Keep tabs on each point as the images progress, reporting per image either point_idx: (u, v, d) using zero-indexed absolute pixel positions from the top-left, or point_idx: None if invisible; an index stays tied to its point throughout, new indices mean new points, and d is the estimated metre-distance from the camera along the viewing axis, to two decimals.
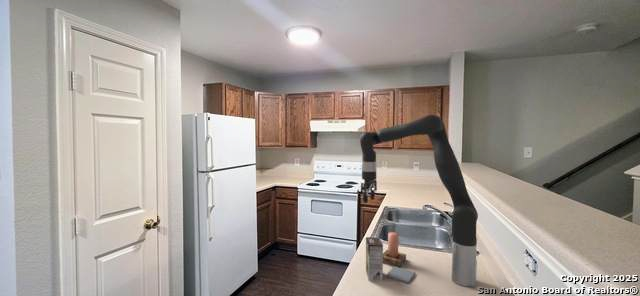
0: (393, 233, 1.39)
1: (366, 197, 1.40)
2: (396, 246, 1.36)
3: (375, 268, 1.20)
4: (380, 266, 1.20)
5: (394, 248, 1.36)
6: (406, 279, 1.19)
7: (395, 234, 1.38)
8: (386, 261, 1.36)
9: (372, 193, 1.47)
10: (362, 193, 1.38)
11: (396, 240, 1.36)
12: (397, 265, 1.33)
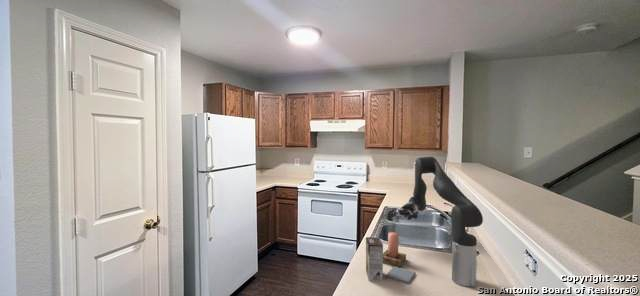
0: (393, 233, 1.39)
1: None
2: (396, 246, 1.36)
3: (375, 268, 1.20)
4: (380, 266, 1.20)
5: (394, 248, 1.36)
6: (406, 279, 1.19)
7: (395, 234, 1.38)
8: (386, 261, 1.36)
9: None
10: None
11: (396, 240, 1.36)
12: (397, 265, 1.33)
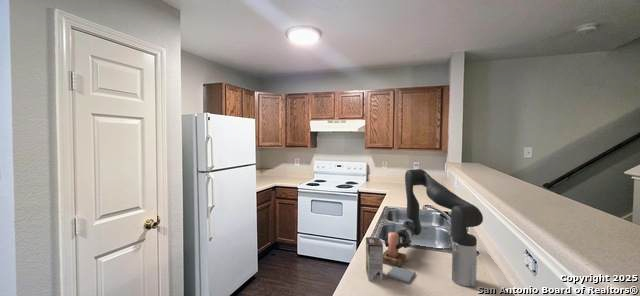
0: (393, 233, 1.39)
1: (387, 241, 1.41)
2: (396, 246, 1.36)
3: (375, 268, 1.20)
4: (380, 266, 1.20)
5: (394, 248, 1.36)
6: (406, 279, 1.19)
7: (395, 234, 1.38)
8: (386, 261, 1.36)
9: None
10: None
11: (396, 240, 1.36)
12: (397, 265, 1.33)
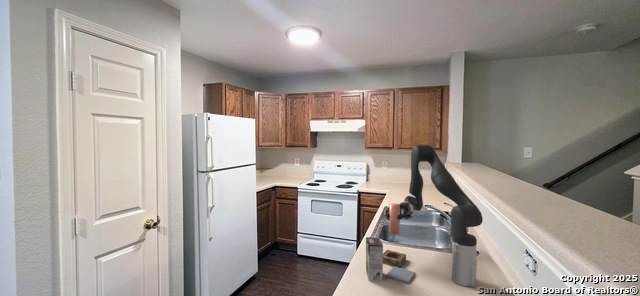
0: (394, 204, 1.36)
1: (388, 212, 1.38)
2: (397, 217, 1.34)
3: (375, 268, 1.20)
4: (380, 266, 1.20)
5: (395, 218, 1.33)
6: (406, 279, 1.19)
7: (396, 205, 1.35)
8: (386, 261, 1.36)
9: None
10: None
11: (397, 210, 1.33)
12: (397, 265, 1.33)
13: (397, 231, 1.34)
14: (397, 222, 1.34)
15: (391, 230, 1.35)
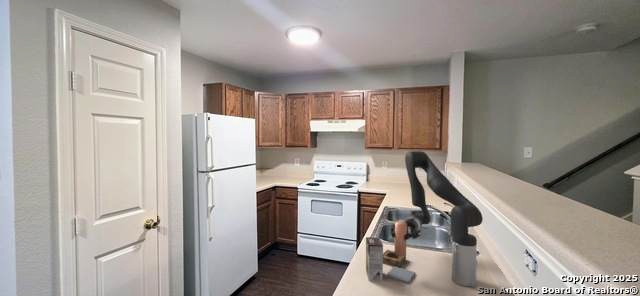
0: (401, 222, 1.24)
1: (394, 231, 1.26)
2: (404, 236, 1.21)
3: (375, 268, 1.20)
4: (380, 266, 1.20)
5: (402, 238, 1.21)
6: (406, 279, 1.19)
7: (403, 223, 1.22)
8: (386, 261, 1.36)
9: None
10: (391, 231, 1.29)
11: (404, 230, 1.21)
12: (397, 265, 1.33)
13: (403, 252, 1.22)
14: (403, 242, 1.21)
15: (397, 251, 1.22)
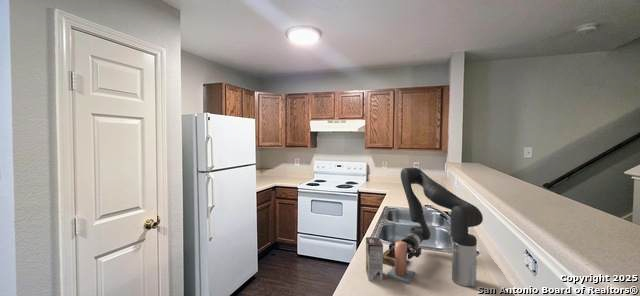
0: (401, 242, 1.24)
1: (392, 248, 1.27)
2: (404, 257, 1.22)
3: (375, 268, 1.20)
4: (380, 266, 1.20)
5: (402, 259, 1.21)
6: (406, 279, 1.19)
7: (403, 243, 1.23)
8: (386, 261, 1.36)
9: None
10: (389, 247, 1.30)
11: (404, 250, 1.22)
12: None
13: (403, 273, 1.22)
14: (404, 263, 1.22)
15: (397, 271, 1.23)
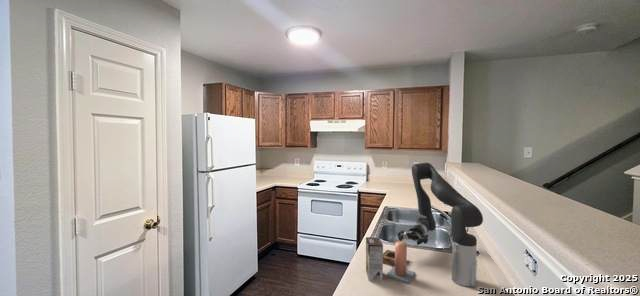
0: (401, 242, 1.24)
1: (401, 235, 1.39)
2: (404, 257, 1.22)
3: (375, 268, 1.20)
4: (380, 266, 1.20)
5: (402, 259, 1.21)
6: (406, 279, 1.19)
7: (403, 243, 1.23)
8: (386, 261, 1.36)
9: None
10: (398, 235, 1.42)
11: (404, 250, 1.22)
12: None
13: (403, 273, 1.22)
14: (404, 263, 1.22)
15: (397, 272, 1.23)
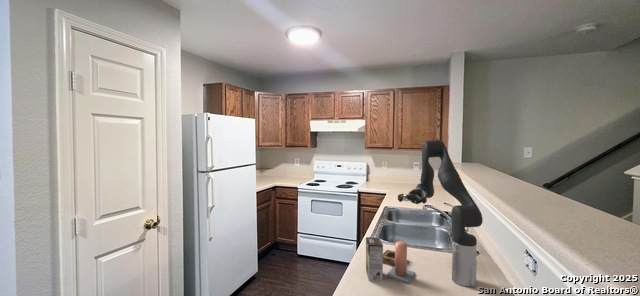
0: (401, 242, 1.24)
1: (400, 197, 1.46)
2: (404, 257, 1.22)
3: (375, 268, 1.20)
4: (380, 266, 1.20)
5: (402, 259, 1.21)
6: (406, 279, 1.19)
7: (403, 243, 1.23)
8: (386, 261, 1.36)
9: None
10: None
11: (404, 250, 1.22)
12: None
13: (404, 273, 1.22)
14: (404, 263, 1.22)
15: (397, 271, 1.23)
